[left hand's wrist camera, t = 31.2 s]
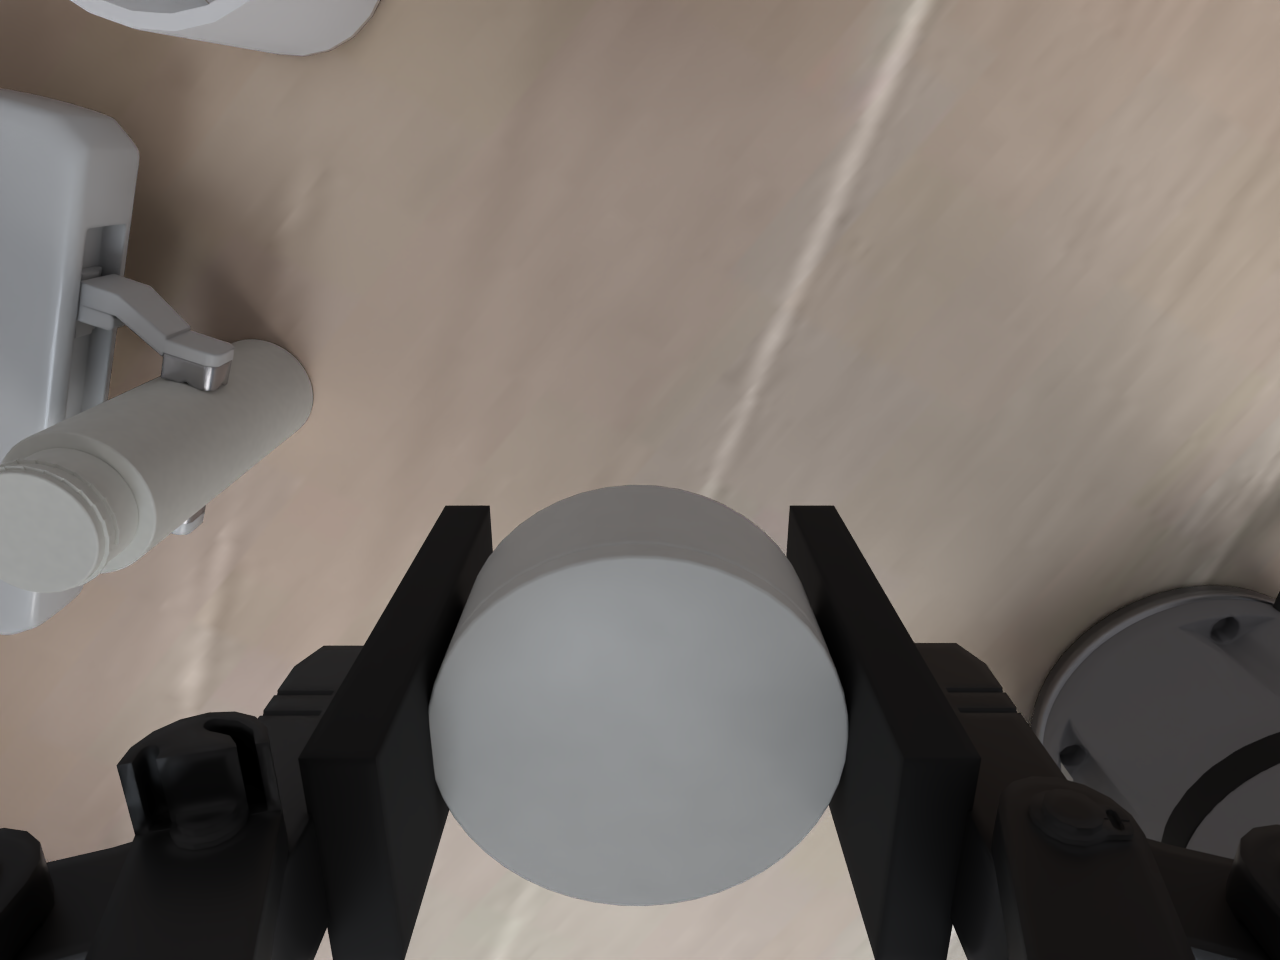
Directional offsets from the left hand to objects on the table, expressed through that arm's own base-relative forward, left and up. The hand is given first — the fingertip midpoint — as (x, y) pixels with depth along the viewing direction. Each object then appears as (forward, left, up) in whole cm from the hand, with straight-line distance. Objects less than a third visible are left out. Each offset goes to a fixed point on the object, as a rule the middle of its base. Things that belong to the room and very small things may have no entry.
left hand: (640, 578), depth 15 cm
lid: (0, 0, +4) cm, 4 cm away
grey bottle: (+13, -11, -24) cm, 29 cm away
